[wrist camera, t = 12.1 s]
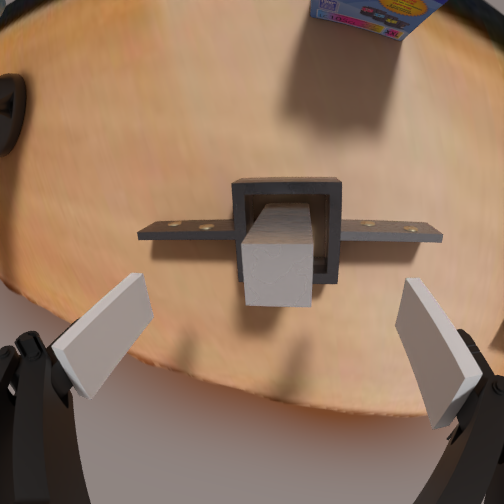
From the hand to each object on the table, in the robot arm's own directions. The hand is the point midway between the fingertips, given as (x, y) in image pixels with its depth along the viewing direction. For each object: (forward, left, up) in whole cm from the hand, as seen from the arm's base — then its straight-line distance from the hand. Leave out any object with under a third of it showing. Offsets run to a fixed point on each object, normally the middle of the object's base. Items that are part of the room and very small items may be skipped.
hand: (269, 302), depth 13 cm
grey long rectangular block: (0, 0, -15) cm, 15 cm away
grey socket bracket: (0, 0, -15) cm, 15 cm away
